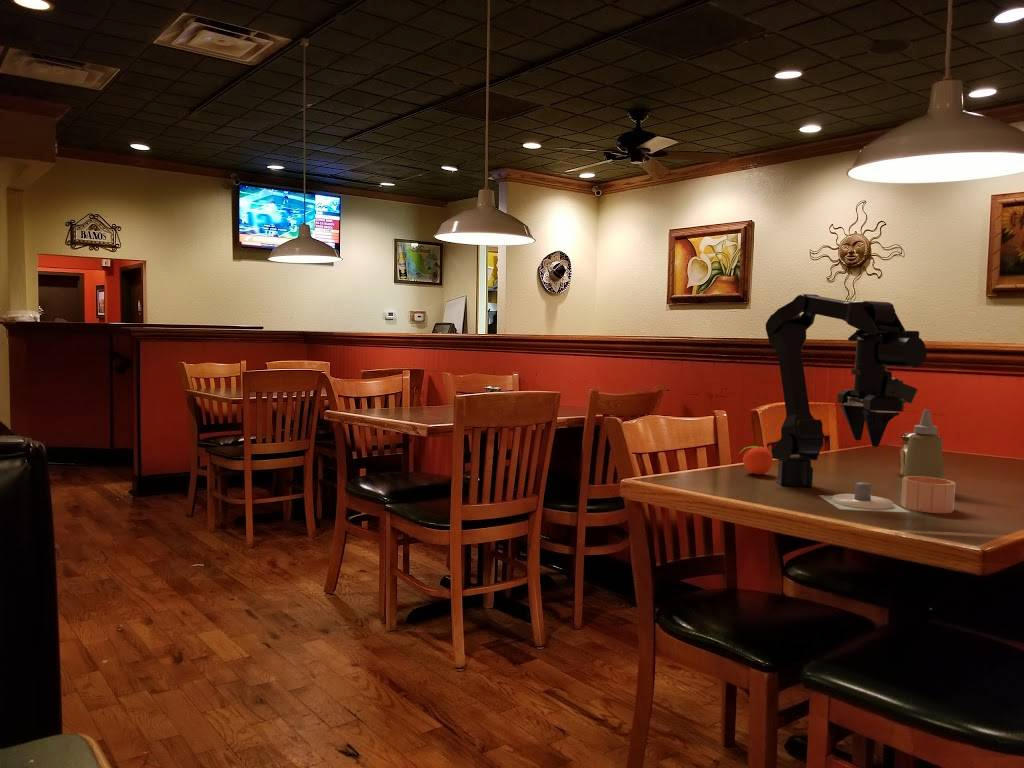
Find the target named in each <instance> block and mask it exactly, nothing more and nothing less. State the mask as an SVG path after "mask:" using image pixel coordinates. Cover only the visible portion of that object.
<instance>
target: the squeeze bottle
mask: <svg viewBox="0 0 1024 768" xmlns="http://www.w3.org/2000/svg"><path fill="white" fill-rule="evenodd" d="M937 434H938V426H936V425H933V422H932V417H931V410H930V409H923V411H922V416H921V418H920V422H919V424H915V425H914V427H913V434H911V435H909V436H908V437H909V438H908V442H907V444H908V445H907V450H906V455H905V456H906V457H905V463H904V468H903V473H904V477H906V476H923V477H933V478H940V479H944V478H943V477H944V474H945V473H944V457H943V444H942V443H943V442H942V438H941V436H939V435H937Z"/></svg>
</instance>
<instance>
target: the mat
mask: <svg viewBox="0 0 1024 768" xmlns="http://www.w3.org/2000/svg"><path fill="white" fill-rule="evenodd" d="M818 496H819V497H820V498H821V499H822V500H825V501H826V502H828V503H829V504H831V505H832V506H834V507H835V508H837V509H838V510H840V511H841V510H842V511H843V510H845V511H864V512H866V511H867V512H883V513H884V512H886V513H888V512H889V513H905V514H906V513H907V514H910V513H911V512H910V511H909V510H907V509H906V508H905V509H904V507H902V506H898V505H897V504H894V503H893V508H891V509H884V510H873V509H861V508H854V507H848V506H844V505H840V504H837V503H835V502H833V496H834V495H822V494H821V495H818Z"/></svg>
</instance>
